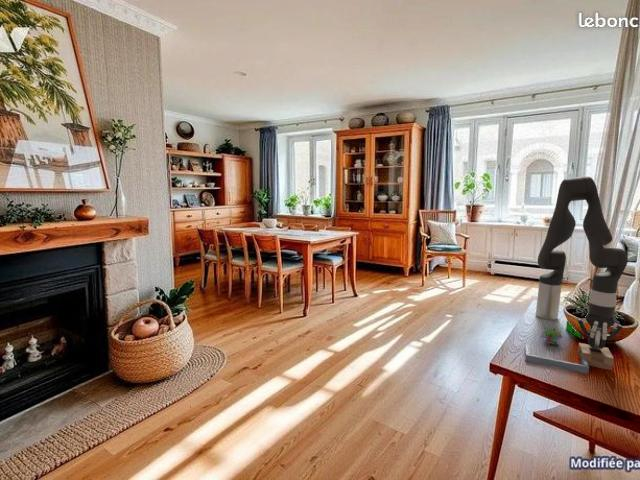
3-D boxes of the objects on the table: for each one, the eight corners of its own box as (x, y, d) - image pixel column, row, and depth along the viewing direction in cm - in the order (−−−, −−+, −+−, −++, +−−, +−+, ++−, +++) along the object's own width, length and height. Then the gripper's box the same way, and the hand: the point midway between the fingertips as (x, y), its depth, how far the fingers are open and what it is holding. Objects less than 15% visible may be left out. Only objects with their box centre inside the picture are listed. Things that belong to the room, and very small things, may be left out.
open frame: (524, 349, 143) (525, 343, 142) (582, 360, 134) (583, 354, 133) (525, 361, 133) (526, 354, 133) (588, 373, 125) (589, 367, 124)
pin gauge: (589, 351, 134) (593, 324, 132) (599, 352, 133) (602, 325, 131) (591, 354, 132) (594, 327, 130) (600, 356, 131) (604, 328, 129)
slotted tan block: (577, 353, 139) (578, 342, 138) (606, 359, 135) (607, 347, 134) (581, 364, 131) (582, 352, 130) (612, 370, 127) (613, 358, 126)
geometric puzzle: (554, 346, 141) (561, 327, 142) (536, 339, 146) (543, 322, 148) (559, 352, 145) (566, 334, 147) (541, 345, 150) (548, 328, 152)
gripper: (623, 302, 129) (617, 347, 132) (577, 296, 136) (571, 339, 139) (629, 309, 123) (622, 355, 126) (580, 302, 129) (574, 347, 132)
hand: (595, 347), depth 132 cm, fingers closed on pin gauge, 2 cm apart
